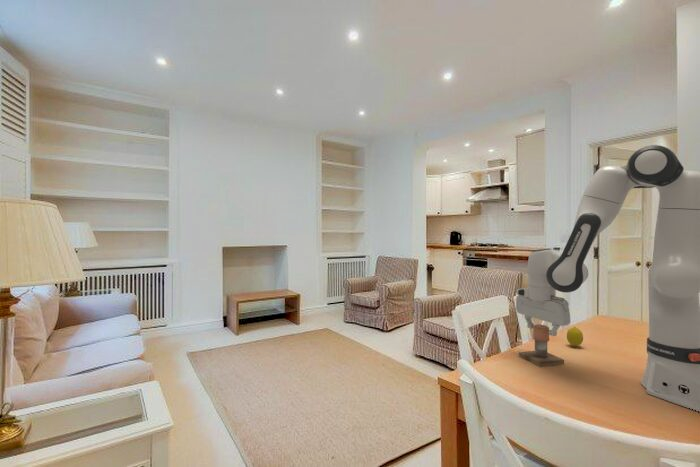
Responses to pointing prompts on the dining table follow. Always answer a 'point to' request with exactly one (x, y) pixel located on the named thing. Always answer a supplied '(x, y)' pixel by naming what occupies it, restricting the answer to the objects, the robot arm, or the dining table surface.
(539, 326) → the cap
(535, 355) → the stud base
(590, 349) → the dining table surface
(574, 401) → the dining table surface
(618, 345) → the dining table surface
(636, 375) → the dining table surface
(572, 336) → the lemon
